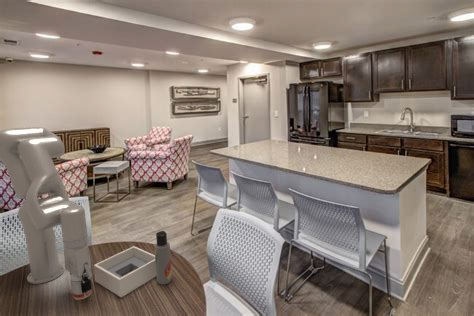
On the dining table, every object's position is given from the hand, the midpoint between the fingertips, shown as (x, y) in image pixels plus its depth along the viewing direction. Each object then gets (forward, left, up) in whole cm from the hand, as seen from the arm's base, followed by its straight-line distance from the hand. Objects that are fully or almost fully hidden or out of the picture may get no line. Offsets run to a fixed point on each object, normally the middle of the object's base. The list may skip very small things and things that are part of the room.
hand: (81, 287), depth 104 cm
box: (+5, +16, -3) cm, 17 cm away
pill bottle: (0, 0, -3) cm, 3 cm away
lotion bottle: (+18, +23, -3) cm, 29 cm away
